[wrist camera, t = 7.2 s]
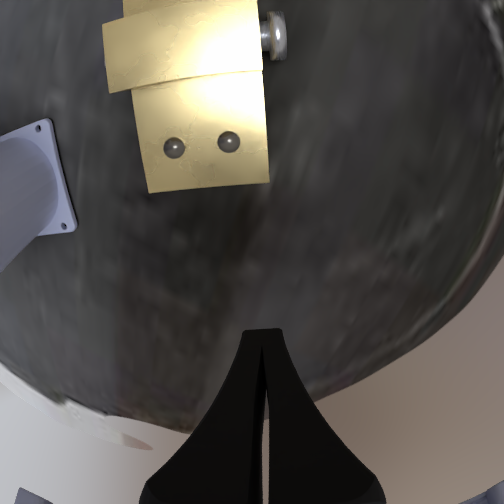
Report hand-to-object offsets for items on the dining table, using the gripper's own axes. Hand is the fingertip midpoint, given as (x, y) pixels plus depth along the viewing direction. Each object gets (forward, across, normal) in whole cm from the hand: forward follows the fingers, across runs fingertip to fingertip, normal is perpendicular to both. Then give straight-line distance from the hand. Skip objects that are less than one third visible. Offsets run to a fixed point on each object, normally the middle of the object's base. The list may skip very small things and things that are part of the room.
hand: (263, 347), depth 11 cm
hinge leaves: (+9, +3, -11) cm, 15 cm away
